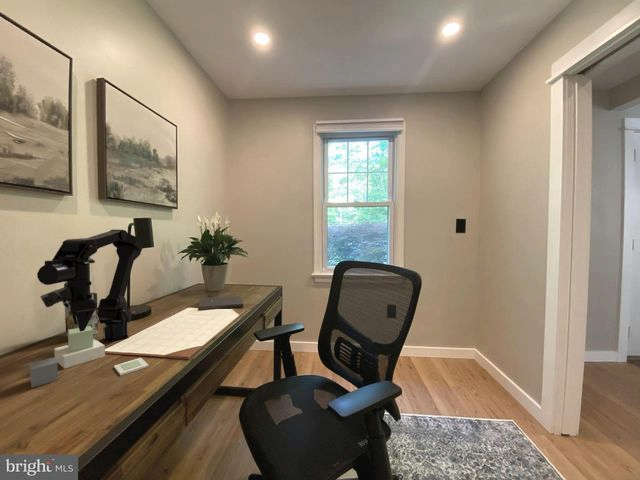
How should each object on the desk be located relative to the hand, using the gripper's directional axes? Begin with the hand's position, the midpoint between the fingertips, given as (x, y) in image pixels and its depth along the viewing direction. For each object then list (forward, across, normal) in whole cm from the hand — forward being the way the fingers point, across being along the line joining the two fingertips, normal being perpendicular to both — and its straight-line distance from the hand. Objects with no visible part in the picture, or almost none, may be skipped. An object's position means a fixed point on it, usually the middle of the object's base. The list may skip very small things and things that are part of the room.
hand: (79, 327), depth 89 cm
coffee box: (+10, -25, +4) cm, 27 cm away
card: (+10, +19, +9) cm, 23 cm away
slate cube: (+10, +10, -9) cm, 17 cm away
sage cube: (+6, 0, 0) cm, 6 cm away
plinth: (+10, 0, 0) cm, 10 cm away
